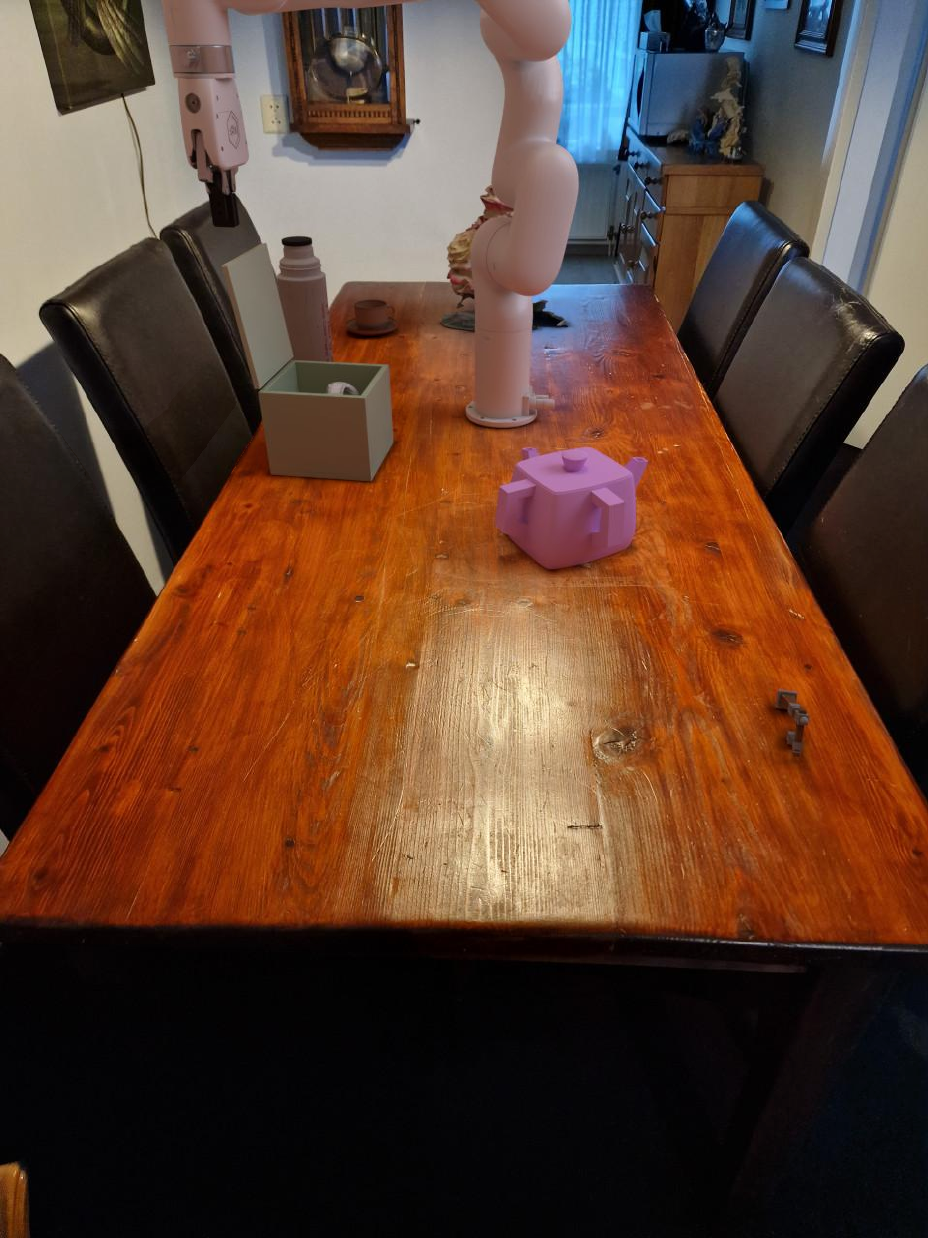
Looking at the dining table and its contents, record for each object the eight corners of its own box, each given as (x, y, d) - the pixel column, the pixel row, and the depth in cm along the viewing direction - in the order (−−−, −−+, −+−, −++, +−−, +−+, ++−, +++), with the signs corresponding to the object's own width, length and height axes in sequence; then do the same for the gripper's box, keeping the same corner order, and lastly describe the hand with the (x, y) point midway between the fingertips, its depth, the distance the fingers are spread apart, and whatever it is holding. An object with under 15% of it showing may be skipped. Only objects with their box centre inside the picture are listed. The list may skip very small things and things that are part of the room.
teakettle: (489, 562, 103) (491, 472, 96) (520, 503, 116) (523, 420, 109) (624, 583, 99) (636, 491, 92) (640, 519, 112) (652, 434, 105)
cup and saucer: (369, 321, 192) (368, 294, 189) (409, 329, 187) (408, 301, 183) (334, 333, 184) (332, 305, 181) (374, 342, 179) (373, 313, 175)
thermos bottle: (343, 398, 151) (328, 233, 135) (329, 414, 144) (311, 243, 128) (302, 395, 152) (283, 231, 136) (286, 411, 146) (264, 241, 129)
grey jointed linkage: (787, 759, 73) (795, 711, 73) (771, 731, 81) (778, 687, 80) (809, 762, 73) (817, 714, 72) (790, 733, 81) (797, 689, 80)
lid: (266, 242, 119) (261, 243, 119) (227, 265, 107) (221, 265, 107) (293, 356, 128) (288, 356, 129) (260, 388, 116) (254, 389, 117)
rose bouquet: (492, 300, 207) (494, 166, 190) (579, 324, 190) (590, 178, 173) (414, 319, 193) (409, 177, 176) (501, 347, 176) (505, 191, 158)
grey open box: (393, 442, 134) (389, 364, 127) (371, 481, 122) (365, 397, 115) (301, 436, 136) (291, 359, 129) (270, 474, 124) (257, 392, 117)
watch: (365, 443, 132) (360, 375, 125) (356, 464, 125) (351, 394, 119) (331, 442, 132) (324, 375, 126) (320, 463, 125) (312, 393, 119)
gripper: (207, 65, 94) (232, 237, 105) (253, 63, 107) (271, 217, 117) (146, 64, 95) (177, 235, 106) (199, 62, 107) (221, 216, 118)
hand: (226, 225), depth 111 cm, fingers closed
